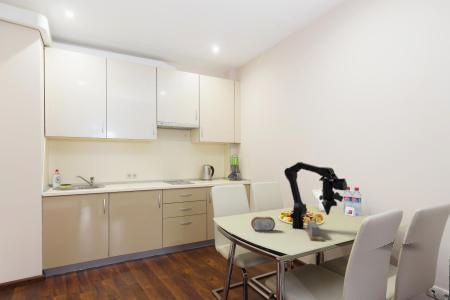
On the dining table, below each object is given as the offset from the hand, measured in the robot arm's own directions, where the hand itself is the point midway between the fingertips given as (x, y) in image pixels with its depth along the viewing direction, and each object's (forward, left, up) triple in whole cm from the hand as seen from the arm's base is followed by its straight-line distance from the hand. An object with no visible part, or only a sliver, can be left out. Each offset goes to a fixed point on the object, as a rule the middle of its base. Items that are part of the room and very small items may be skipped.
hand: (327, 214), depth 151 cm
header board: (-8, -2, -12) cm, 15 cm away
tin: (-38, +2, -12) cm, 40 cm away
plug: (-8, -1, -11) cm, 13 cm away
